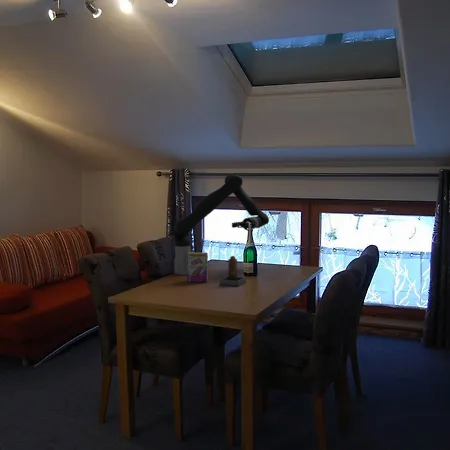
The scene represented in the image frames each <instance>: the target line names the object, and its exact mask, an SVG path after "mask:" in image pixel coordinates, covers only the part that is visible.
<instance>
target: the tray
mask: <svg viewBox="0 0 450 450" xmlns="http://www.w3.org/2000/svg"><path fill="white" fill-rule="evenodd" d="M246 280H247V278H246V277H244V276H243V277H242V276H237V281H233V280H229V275H227V276H225V277H222V278H220V279H219V285H220V286H229V287H241V286H243V285H244V284H246V282H247V281H246Z"/></svg>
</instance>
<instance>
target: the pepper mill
mask: <svg viewBox="0 0 450 450" xmlns="http://www.w3.org/2000/svg"><path fill="white" fill-rule="evenodd" d="M227 261H228V262H227V263H228V264H227V265H228V267H227V268H228V276H229V280H233V281H237V277H238V259H237V258H236V256H234V255H231V256H230V258H229V259H227Z"/></svg>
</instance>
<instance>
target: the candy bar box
mask: <svg viewBox="0 0 450 450" xmlns="http://www.w3.org/2000/svg"><path fill="white" fill-rule="evenodd" d="M208 258H209V255H208V252H194V251H193V252H192V251H191V252H189V253H188V254H187V266H188V274H187V282H188V283H207V282H208V281H209V273H208V272H209V270H208V269H209V265H208V263H209V259H208Z"/></svg>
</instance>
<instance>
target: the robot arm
mask: <svg viewBox="0 0 450 450" xmlns="http://www.w3.org/2000/svg"><path fill="white" fill-rule="evenodd" d="M243 182H244V181H243V178H242V177H241V175H238V174H233V173H230V174H228V175H226V176H225V178H224V184H222V186H221V187H219V188H218V189H216V190H215V191H212V192H210V193H209V194H208V195H206V196H204V198H203V199H202V200H200V201H199V202H198V204H197V205H196V206H195V208H194V209H193V210H192V212H191V213H189V215H187V216H185V218H179V219H177V220H176V221H175V222H174V225H173V236H174V237H173V238H174V246H175V247H174V248H175V249H174V253H175V257H174V260H173V263H174V265H173V267H174V268H173V269H174V270H173V271H174V274H175V275H177V276H178V275H180V276H184V275H187V276H188V266H187V254H188V253H189V252H192V251H191V250H192V249H191V239H190V233H191V232H192V230H193V229H194V228H195V227H196V226H197V225H198V224H199V223H200V222H201V221H202V220H204V219H205V218H206V217H207V216H208V215H210V214H211V213H212V212H213V211H214V210H216V208H218V206H220V205H221V204H222V203H223V202H224V201H225V200H226V199H227V198H228V197H230V196H231V195H232V194H234V195H235V197H236V199H238V201H240V203H241V204H242V206H243V209H244V210H246V212H247V214H248V215H249V217H246V218H244V219H242V220H241V221H234V222H232V223H231V228H233V229H234V228H237V229H238V228H239V229H244V230H246V231H248V230H247V228H248V224H252V228H253V229H252V230H255V229H260V228H263V227H264V226H266V225H267V224H269V223H270V218H269V216H268V215H267V214H266V213H265V212H263V211H262V210H261V209H260V208H259V207H258V204H256V201H254V200H253V198H252V197H251V196H250V195H248V194H247V193H246V191H245V190H244V188H243V187H242V186H243Z"/></svg>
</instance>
